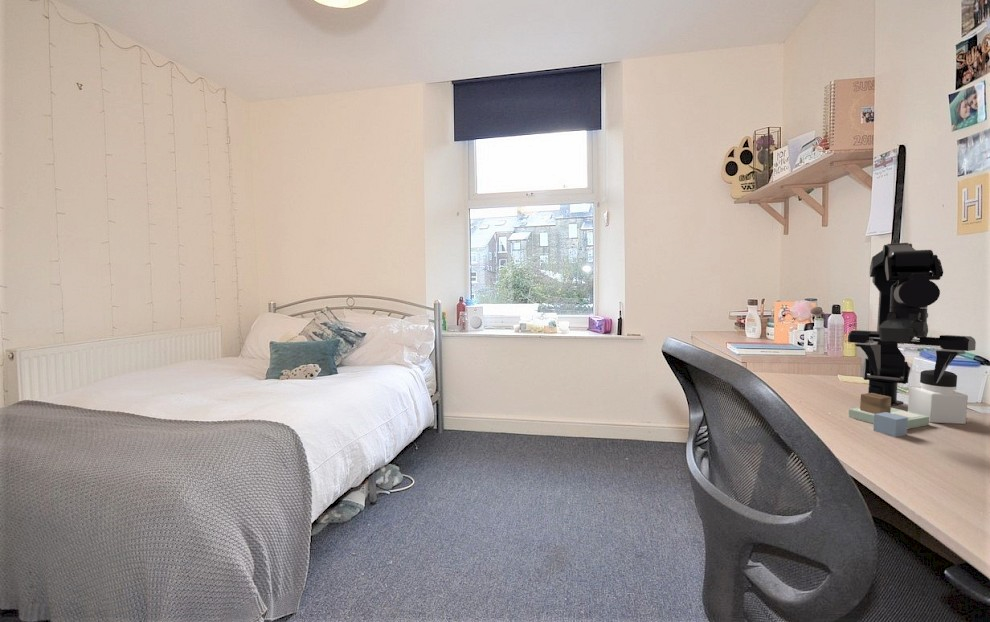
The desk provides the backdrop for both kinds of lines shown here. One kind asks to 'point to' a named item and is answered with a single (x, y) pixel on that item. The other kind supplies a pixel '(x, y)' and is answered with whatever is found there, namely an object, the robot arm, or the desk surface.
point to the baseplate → (913, 418)
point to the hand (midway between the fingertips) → (905, 379)
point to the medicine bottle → (938, 399)
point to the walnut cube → (875, 403)
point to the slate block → (890, 424)
